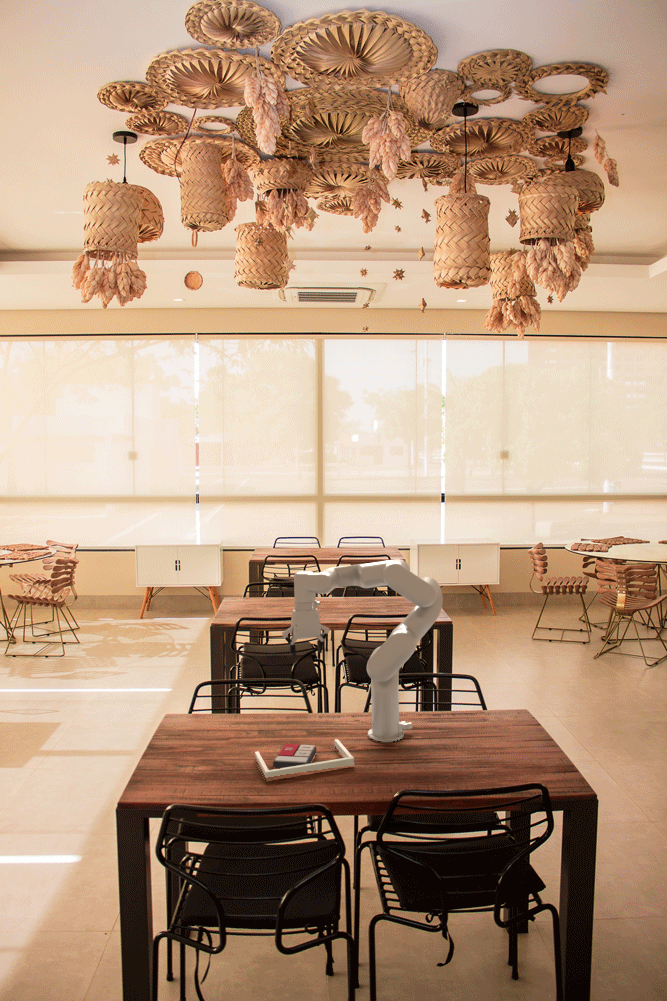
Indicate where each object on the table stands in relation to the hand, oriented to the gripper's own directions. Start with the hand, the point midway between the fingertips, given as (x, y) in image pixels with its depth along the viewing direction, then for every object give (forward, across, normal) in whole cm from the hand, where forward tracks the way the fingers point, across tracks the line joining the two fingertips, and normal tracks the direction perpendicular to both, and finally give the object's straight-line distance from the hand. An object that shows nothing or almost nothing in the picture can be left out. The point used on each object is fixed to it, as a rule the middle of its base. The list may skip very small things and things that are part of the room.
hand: (306, 653), depth 253 cm
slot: (+28, +9, +25) cm, 39 cm away
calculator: (+29, +11, +24) cm, 39 cm away
